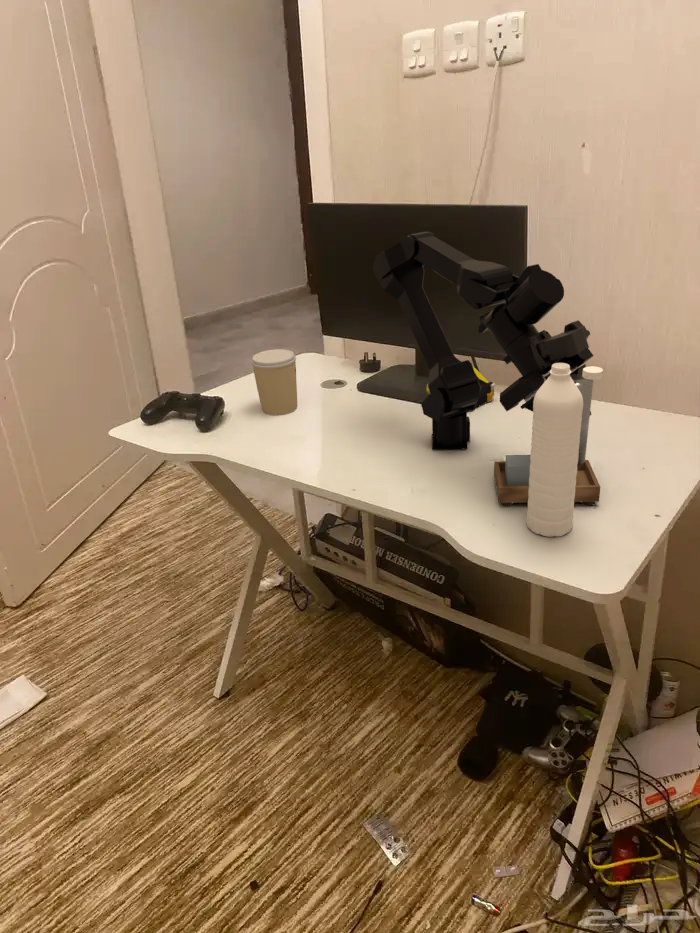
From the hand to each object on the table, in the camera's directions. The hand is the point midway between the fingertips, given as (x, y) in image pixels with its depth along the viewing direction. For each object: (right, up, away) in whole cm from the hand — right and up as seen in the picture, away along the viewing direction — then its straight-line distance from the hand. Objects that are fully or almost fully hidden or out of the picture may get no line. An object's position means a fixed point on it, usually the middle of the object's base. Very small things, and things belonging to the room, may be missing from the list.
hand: (580, 422), depth 104 cm
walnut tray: (-4, -11, +7) cm, 13 cm away
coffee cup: (-50, +6, +47) cm, 69 cm away
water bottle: (-4, -16, -2) cm, 17 cm away
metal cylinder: (-1, -5, +4) cm, 7 cm away
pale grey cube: (-8, -9, +7) cm, 14 cm away
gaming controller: (-11, +7, +43) cm, 45 cm away
